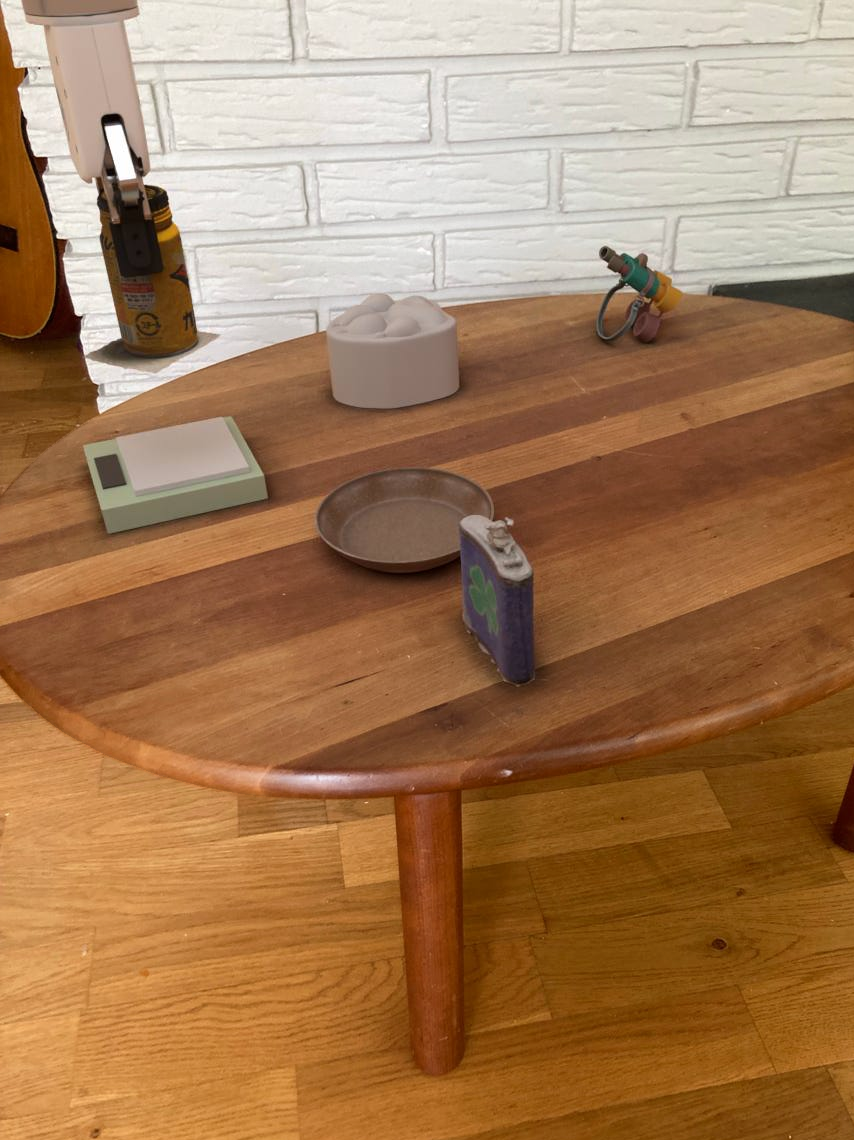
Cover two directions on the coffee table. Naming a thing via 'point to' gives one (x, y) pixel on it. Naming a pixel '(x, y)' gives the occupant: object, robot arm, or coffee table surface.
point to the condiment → (150, 299)
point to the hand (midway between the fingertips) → (135, 258)
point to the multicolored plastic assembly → (647, 286)
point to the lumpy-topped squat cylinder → (393, 353)
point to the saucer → (400, 517)
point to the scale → (173, 473)
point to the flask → (498, 596)
